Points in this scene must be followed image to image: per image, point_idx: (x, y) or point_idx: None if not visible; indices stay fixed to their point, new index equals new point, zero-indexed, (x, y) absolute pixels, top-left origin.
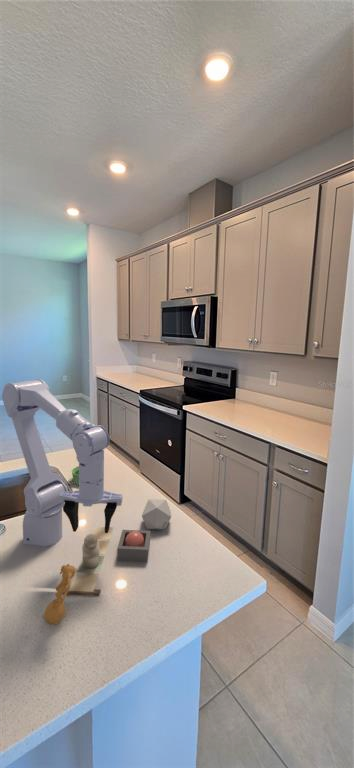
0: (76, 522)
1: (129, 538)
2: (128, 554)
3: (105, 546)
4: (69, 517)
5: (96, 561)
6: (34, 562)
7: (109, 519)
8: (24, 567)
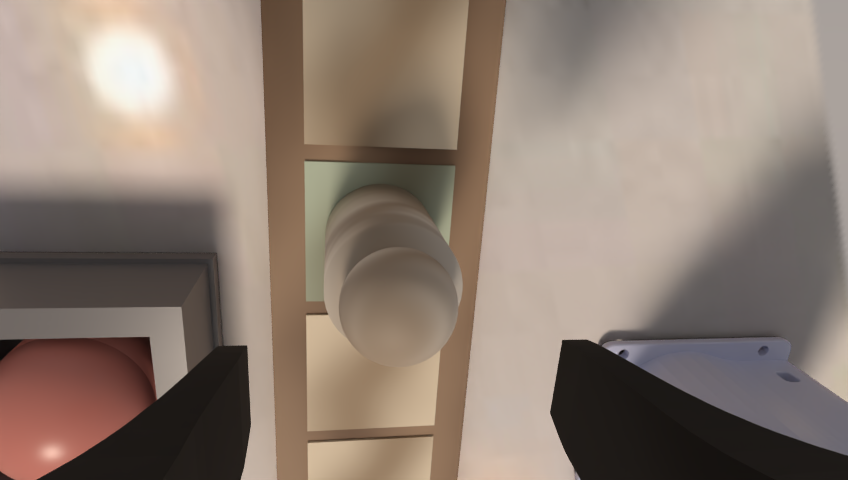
0: (594, 423)
1: (84, 403)
2: (102, 285)
3: (320, 382)
4: (746, 427)
5: (336, 215)
6: (704, 239)
7: (96, 458)
8: (749, 200)
